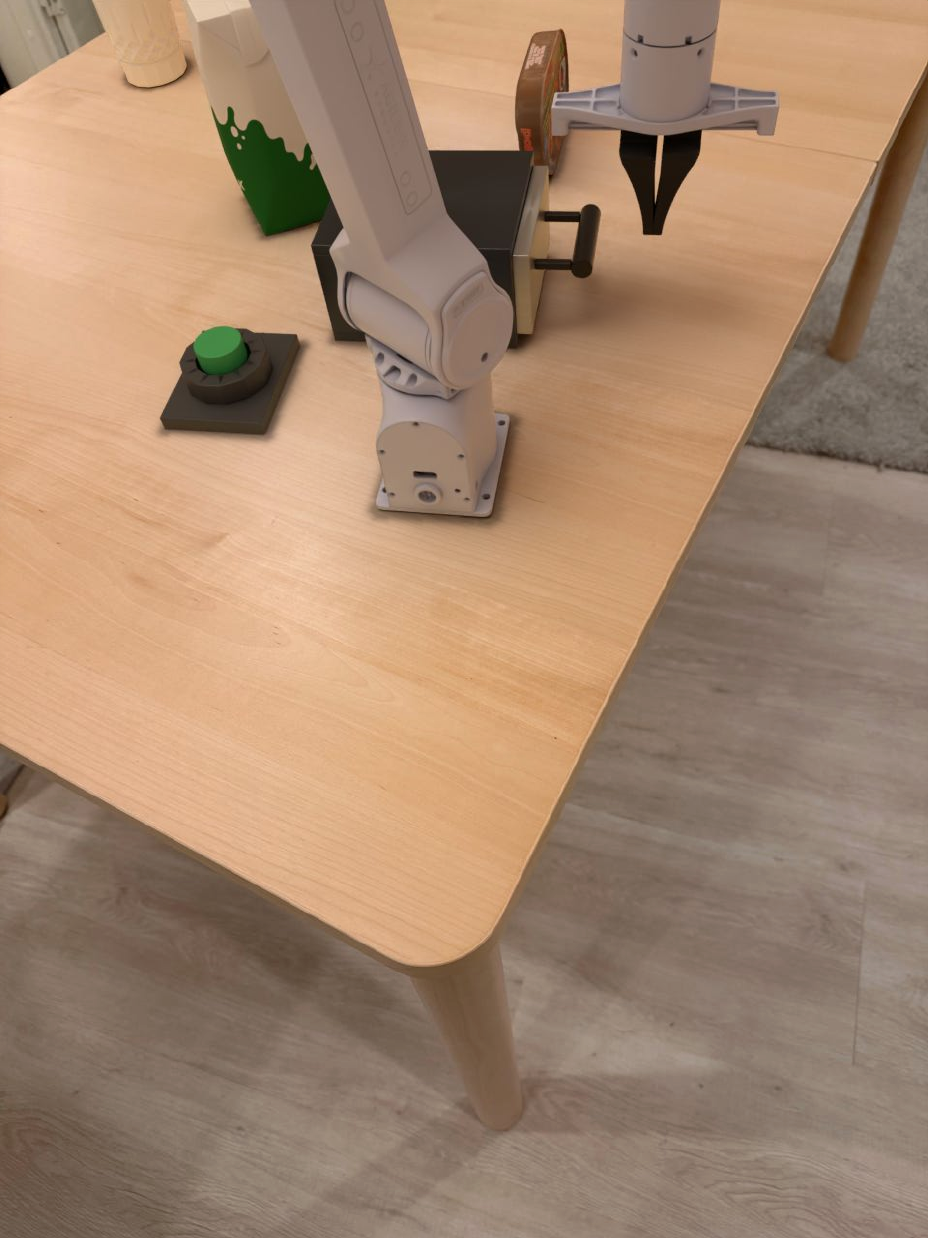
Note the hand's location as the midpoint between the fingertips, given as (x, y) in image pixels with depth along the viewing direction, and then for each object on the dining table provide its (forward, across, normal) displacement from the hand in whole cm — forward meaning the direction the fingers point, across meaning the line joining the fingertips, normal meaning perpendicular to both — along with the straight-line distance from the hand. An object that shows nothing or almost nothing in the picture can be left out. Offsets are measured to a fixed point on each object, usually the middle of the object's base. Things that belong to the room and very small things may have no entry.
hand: (653, 227), depth 68 cm
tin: (+6, +11, -22) cm, 25 cm away
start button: (+4, +31, +12) cm, 33 cm away
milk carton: (+7, +33, -12) cm, 36 cm away
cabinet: (+6, +17, 0) cm, 18 cm away
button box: (+6, +31, +12) cm, 34 cm away
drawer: (+5, +13, 0) cm, 14 cm away
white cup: (+7, +56, -37) cm, 67 cm away
